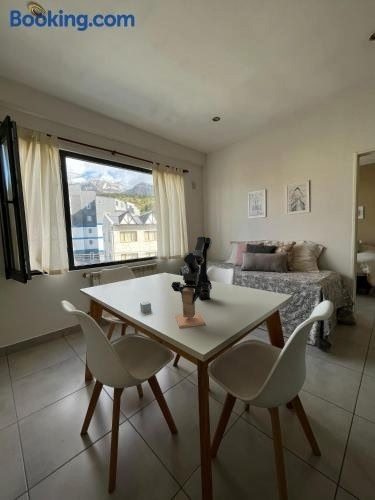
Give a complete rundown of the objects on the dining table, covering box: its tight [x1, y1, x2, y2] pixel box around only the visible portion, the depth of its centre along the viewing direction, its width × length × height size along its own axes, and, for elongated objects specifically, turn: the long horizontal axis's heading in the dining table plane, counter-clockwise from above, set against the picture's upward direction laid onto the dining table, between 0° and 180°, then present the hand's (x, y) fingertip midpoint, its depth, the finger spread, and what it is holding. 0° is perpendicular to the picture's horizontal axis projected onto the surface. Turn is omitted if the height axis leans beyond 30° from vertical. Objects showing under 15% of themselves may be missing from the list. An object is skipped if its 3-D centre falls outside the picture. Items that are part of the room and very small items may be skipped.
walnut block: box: [181, 288, 196, 318], centre depth 97 cm, size 4×4×13 cm
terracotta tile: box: [174, 312, 206, 329], centre depth 98 cm, size 12×12×1 cm
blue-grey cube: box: [139, 300, 152, 314], centre depth 112 cm, size 4×4×4 cm
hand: (187, 303), depth 96 cm, fingers closed on walnut block, 4 cm apart
